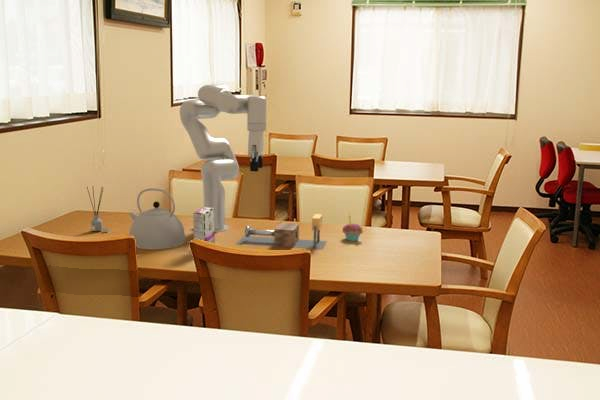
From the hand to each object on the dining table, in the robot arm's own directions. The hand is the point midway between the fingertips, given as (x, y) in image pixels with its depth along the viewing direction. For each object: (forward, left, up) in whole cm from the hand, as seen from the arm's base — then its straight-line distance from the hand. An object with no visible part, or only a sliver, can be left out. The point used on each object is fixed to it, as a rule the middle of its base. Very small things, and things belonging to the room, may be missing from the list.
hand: (256, 169), depth 265 cm
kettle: (-41, -7, -31) cm, 52 cm away
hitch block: (+17, +2, -30) cm, 35 cm away
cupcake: (+39, +15, -31) cm, 52 cm away
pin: (+3, +2, -29) cm, 29 cm away
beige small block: (+25, +2, -23) cm, 34 cm away
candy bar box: (-17, -15, -31) cm, 39 cm away
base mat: (+11, +2, -31) cm, 33 cm away
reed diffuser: (-71, +4, -31) cm, 78 cm away
